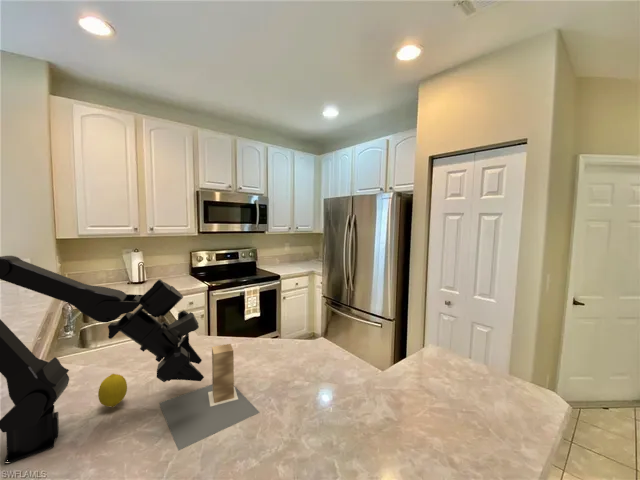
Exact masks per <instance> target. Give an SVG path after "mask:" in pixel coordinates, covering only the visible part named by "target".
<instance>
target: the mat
mask: <svg viewBox="0 0 640 480" xmlns="http://www.w3.org/2000/svg"><path fill="white" fill-rule="evenodd" d="M158 404H159V407H160V409H161V411H162V414H163V416H164V418H165V422H166V423H167V427H168V428H169V431H170V434H171V437H172V438H173V441H174V443H175V446H176V448H177V450H178V451H181V450H183V449H185V448H187V447H189V446H192V445H194V444H196V443H198V442H200V441H202V440H204V439H207V438H208V437H210V436H213V435H215V434H218V433H220V432H221V431H224V430H226V429H228V428H230V427H232V426H235V425H236V424H238V423H240V422H243V421H245V420H247V419H249V418H251V417H253V416H255V415H258V414H260V411H259V409H257V408H256V407H255V406H254V405H253V404H252V402H251V401H250V400H249V399H248V398H247V397H246V396H245V395H244V394H243V393H242V392H241V390H239V389H238V388H237V387H236V386H235V385H234V398H232V399H228V400H225V401H221V402H217V403H214V398H213V384H209V385H206V386H204V387H200V388H196V389H195V390H191V391H189V392H186V393H184V394H181V395H178V396H175V397H173V398H170V399H167V400H163V401H160V402H159V403H158Z"/></svg>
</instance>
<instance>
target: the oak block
mask: <svg viewBox="0 0 640 480" xmlns="http://www.w3.org/2000/svg"><path fill="white" fill-rule="evenodd" d="M234 357H235V355H234V349H233V346H232V343H227V344H222V345H217V346H211V371H212V375H211V376H212V379H211V381H212V384H213V398H214V403H217V402H221V401H225V400H228V399H232V398H234V386H235V378H234V377H235V376H234V375H235V371H234V370H235V367H234V363H235V362H234ZM212 384H211V385H212Z"/></svg>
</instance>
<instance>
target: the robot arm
mask: <svg viewBox="0 0 640 480" xmlns="http://www.w3.org/2000/svg"><path fill="white" fill-rule="evenodd" d="M0 280H1V281H4V282H6V283H9V284H13V285H16V286H18V287H20V288H21V287H22V288H24V289H27V290H30V291H33V292H36V293H39V294H41V295H45V296H47V297H50V298H53V299H55V300H58V301H62V302H64V303H68V304H69V305H71V306H73V307H74V308H76V309H77V310H78V311H79V312H80V313H82V314H83V315H85V316H87V317H88V318H91V319H92V320H94V321H96V322H99V323H109V324H108V325H107V328H108V336H107V337H108V339H109V340H110V339H111V340H112V339H113V338H114V337H115V336H116V335H118V333H119V332H120V333H122V334H123V335H124V336H126V337H128V339H130V340H132V341H133V342H135V343H137V344H138V345H139V346H140V348H139V350H140V351H142V352H145V351H148V353H150V354H153V356H155V358H154V359H155V361H157V362H158V364H157V368H156V378H157V379H158V380H159V381H161V382H162V383H166V382H170V381H172V380H173V381H191V382H192V381H194V382H201V381H203V380H204V378H205V376H204V375H203V374H202V373H201V372H200V370H198V369H197V368H196V366H195V365H194V364H198V365H200V364H201V363H202V361H203V360H202V358H201V356H199V354H198V353H197V352H196V350H195V349H194V347H193V346H192V344H191V343H190V333H192V332H195V331H197V330H198V329H199V322H198V319H197V318H196V316H195V314H194V313H193V312H192V311H190V312H187V311H186V310H182V311H179V312H178V313H177V319H175V320H174V321H173V322H171V323H167V322H166V321H162V322H160V321H158V320H157V319H156V318H159V317H165V316H166V315H167V314H168V313H169V312H170V311H171V310H172V309H173V308H174V307H175V306H176V305H178V303H180V302H181V300H183V298H184V296H183V295H182V293H181V292H179V290H178V289H176V288H175V287H174V286H172V285H170V284H168V283H167V282H166V281H163V280H161V279H158V280H156V281H155V283H154V284H153V285H152V286H151V287H149V289H148V290H147V291H146V292H145V293H143V294H130V293H129V294H127V293H126V292H124V291H122V290H121V289H120V290H119V289H115V288H112V287H111V288H110V287H106V286H99V285H93V284H92V285H91V284H86V283H83V282H80V281H78V280H76V279H72V278H70V277H67V276H65V275H62V274H60V273H59V274H58V273H57V272H55V271H54V272H53V271H51V270H49V269H47V268H44V267H40V266H38V265H35V264H33V263H31V262H28V261H24V260H23V259H21V258H19V257H18V256H16V255H3V256H1V255H0ZM139 306H140V307H139ZM121 315H123V316H122V317H121V318H120V316H121ZM119 318H120V319H119ZM117 319H118V321H116V322H113V321H115V320H117ZM69 371H70V369H68V368H66V367H64V366H63V365H62V364H61V362H60V359H58V358H57V357H55V356H54V357H53V358H51V360H50V361H46V360H43V359H40V358H38V357H37V356H35V354H34V353H33V352H31V350H30V349H29V348H28V347H27V346H26V345H25V344H24V342H22V340H21V339H19V337H18V336H17V335H16V334H15V333H14V332H13V331H12V330H11V329H10V328H9V326H7V324H5V322H4V321H3V320H2V319H1V318H0V374H1V375H2V376H3V377H4V378H5V379H6V380H5V381H6V385H7V391H8V397H9V398H10V400H11V401H12V403H13V406H12V407H11V408H10V410H9V411H8V412H6V414H4V416H2V418H0V431H1V432H2V433H6V434H5V439H6V455H5V458H4V461H3V462H11V463H13V462H16V461H19V460H21V459H24V458H27V457H30V456H33V455H35V454H38V453H41V452H43V451H46V450H49V449H52V448H54V447H55V442H56V439H57V438H59V432H60V422H59V421H60V419H59V417H60V416H59V411H55V403H57V402H56V401H58V399H59V398H60V396H61V395H62V394H63V393H64V391H65V390H66V388H68V385H69V381H70V376H69V375H68V373H69ZM7 460H8V461H7Z"/></svg>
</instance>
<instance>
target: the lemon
mask: <svg viewBox="0 0 640 480" xmlns="http://www.w3.org/2000/svg"><path fill="white" fill-rule="evenodd" d="M127 391H128V384H127V380H126V378H125V377H124V376H123V375H122V374H121V375H120V374H117V373H111V374H110V375H108V376H107V377H106V378H104V379H103V381H102V382H101V383H100V385H99V387H98V393H97V395H98V400H99V403H100V404H101V405H102V406H104V407H108V408H109V407H111V408H115V407H116V406H117V405H118V404H120V403H121V402H122V401H123V400H124V398H125V397H126V394H127Z"/></svg>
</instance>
